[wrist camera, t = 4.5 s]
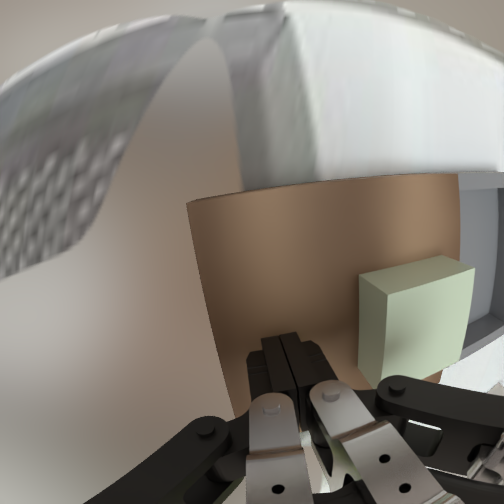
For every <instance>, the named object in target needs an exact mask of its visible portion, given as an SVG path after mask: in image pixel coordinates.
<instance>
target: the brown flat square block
mask: <svg viewBox="0 0 504 504" xmlns="http://www.w3.org/2000/svg"><path fill="white" fill-rule="evenodd" d="M186 205H187V211H188V217H189V222H190V228H191V233H192V238H193V244H194V249H195V254H196V259H197V264H198V269H199V274H200V279H201V283H202V288H203V292H204V297H205V301H206V306H207V310H208V315H209V319H210V323H211V328H212V332H213V336H214V340H215V344H216V348H217V352H218V356H219V360H220V363H221V368H222V371H223V375H224V379H225V382H226V386H227V390H228V393H229V397H230V400H231V404H232V408H233V411H234V415H235V418H238V417H240V416H242V415H243V414H244V413H245V412H246V411H247V410H248V409H249V407H250V404H251V395H250V388H249V380H248V372H247V364H246V358H247V357H248V355H249V353H250V352H252V351H258V350H262V345H261V338H265V337H270V336H276V335H278V337H279V335H280V334H286V333H291V332H297V334H298V336H299V338H300V340H301V342H304V341H309V340H311V341H313V342H314V343H316V344H318V345H319V346H320V348H321V350H322V352H323V354H324V355H325V357H326V359H327V360H328V362H329V364H330V365H331V367H332V369H333V371H334V372H335V374H336V376H337V378H338V379H339V381H343V382H345V383H347V384H348V385H349V386H350V387H351V388H352V389H354V390H370V389H373V388H372V387H371V385H370V384H369V383H368V381H367V380H366V378H365V377H364V376H363V374H362V373H361V371H360V370H359V368H358V348H359V274H364V273H368V272H373V271H377V270H382V269H386V268H390V267H395V266H399V265H403V264H407V263H411V262H415V261H420V260H424V259H428V258H432V257H435V256H439V255H443V256H446V257H449V258H451V259H454V260H457V261H459V262H460V195H459V181H458V173H421V174H399V175H384V176H371V177H359V178H348V179H337V180H328V181H318V182H310V183H301V184H293V185H285V186H278V187H271V188H264V189H257V190H250V191H243V192H237V193H231V194H225V195H219V196H213V197H207V198H202V199H196V200H194V201H191V202H188V203H186ZM442 371H443V370H440V371H438V372H436V373H434V374H432V375H430V376H428V377H426V378H424V379H421V380H424V381H428V382H433V383H439V382H440V378H441V375H442ZM299 427H300V425H299ZM300 432H302V431H301V428H300Z"/></svg>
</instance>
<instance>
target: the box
mask: <svg viewBox="0 0 504 504" xmlns="http://www.w3.org/2000/svg"><path fill="white" fill-rule="evenodd" d="M442 173H458V181H459V195H460V262H462V263H464V264H467V265H469V266H472V267H474V268H475V275H474V284H473V292H472V300H471V306H470V312H469V318H468V324H467V329H466V334H465V338H464V343H463V347H462V351H461V355H460V359H459V361H460V360H462V359H464V358H465V357H467V356H469V355H471V354H473V353H474V352H476V351H478V350H479V349H481V348H483V347H484V346H486V345H488V344H489V343H491V342H492V341H494V340H496V339H497V338H499V337H500V336H502V335H503V334H504V172H442ZM417 174H421V173H417ZM448 367H449V366H448ZM446 368H447V367H446Z"/></svg>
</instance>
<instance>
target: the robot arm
mask: <svg viewBox="0 0 504 504" xmlns="http://www.w3.org/2000/svg"><path fill="white" fill-rule="evenodd" d="M261 345H262V350H258V351H252V352H250V353H249V355H248V357H247V358H246V364H247V372H248V380H249V388H250V395H251V404H250V407H249V409H248V410H247V411H246V412H245V413H244V414H243V415H242V416H240V417H238V418H236V419H234V420H231V421H228V422H226V421H224V420H223V419H221V418H219V417H215V416H204V417H200V418H197V419H195V420H193V421H192V422H190V423H189V424H188V425H187V426H186V427H184V428H183V429H182V430H181V431H180V432H179V433H177V434H176V435H175V436H174V437H173V438H171V439H170V440H169V441H168V442H167V443H165V444H164V445H163V446H162V447H161V448H159V449H158V450H157V451H156V452H154V453H153V454H152V455H150V456H149V457H148V458H147V459H145V460H144V461H143V462H141V463H140V464H139V465H138V466H136V467H135V468H134V469H132V470H131V471H130V472H128V473H127V474H126V475H124V476H123V477H121V478H120V479H119V480H117V481H116V482H115V483H113V484H112V485H110V486H109V487H107V488H106V489H105V490H103V491H102V492H100V493H99V494H97V495H96V496H94V497H93V498H91V499H90V500H88V501H87V502H85V503H84V504H222V503H223V501H225V500H226V498H227V497H228V496H229V495H230V494H231V493H232V492H233V491H234V489H236V487H237V486H238V485H239V484H240V483H241V482H242V480H243V478H244V476H246V504H504V396H500V395H494V394H488V393H482V392H477V391H471V390H466V389H461V388H456V387H451V386H446V385H442V384H437V383H433V382H428V381H424V380H420V379H416V378H412V377H408V376H403V375H392V376H388V377H386V378H384V379H383V380H381V381H380V382H379V384H378V386H377V389H370V390H354V389H352V388H351V387H350V386H349V385H348V384H347V383H345V382H343V381H339V379H338V378H337V376H336V374H335V372H334V371H333V369H332V367H331V365H330V364H329V362H328V360H327V359H326V357H325V355H324V354H323V352H322V350H321V348H320V346H319V345H318V344H316V343H314V342H313V341H311V340H309V341H304V342H301V340H300V338H299V336H298V334H297V332H291V333H286V334H280V335H279V337H278V335H276V336H270V337H265V338H261ZM409 420H413V421H417V422H420V423H424V424H428V425H431V426H435V427H439V428H440V429H442V430H436V429H432V428H428V427H424V426H420V425H417V424H413V423H410V422H408V421H409ZM299 425H300V427H299ZM300 428H301V431H302V432H303V431H307V430H309V432H310V435H311V446H312V448H313V450H314V453H315V455H316V457H317V459H318V461H319V464H320V466H321V468H322V470H323V472H324V474H325V477H326V479H327V481H328V484H329V487H330V493H316V494H312V491H311V485H310V480H309V475H308V470H307V464H306V459H305V454H304V450H303V447H302V446H301V441H300V436H299V432H300ZM425 466H427V467H431V468H435V469H439V470H443V471H447V472H451V473H456V474H460V475H465V476H467V477H468V478H464V477H460V476H456V475H452V474H448V473H445V472H441V471H438V470H434V469H429V468H426V467H425Z"/></svg>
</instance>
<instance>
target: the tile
mask: <svg viewBox="0 0 504 504" xmlns="http://www.w3.org/2000/svg"><path fill="white" fill-rule="evenodd" d="M474 275H475V268H474V267H472V266H469V265H467V264H464V263H462V262H459V261H457V260H454V259H451V258H449V257H446V256H443V255H439V256H435V257H432V258H428V259H424V260H420V261H415V262H411V263H407V264H403V265H399V266H395V267H390V268H386V269H382V270H377V271H373V272H368V273H364V274H359V348H358V368H359V370H360V371H361V373H362V374H363V376H364V377H365V378H366V380H367V381H368V383H369V384H370V385H371V387H372V388H373V389H377V386H378V384H379V382H380V381H381V380H383V379H384V378H386V377H388V376H392V375H403V376H408V377H412V378H416V379H420V380H421V379H424V378H426V377H428V376H430V375H432V374H434V373H436V372H438V371H440V370H443V369H445V368H446V367H448V366H450V365H452V364H454V363H456V362H458V361H459V359H460V355H461V351H462V347H463V343H464V338H465V334H466V329H467V324H468V318H469V312H470V306H471V300H472V292H473V284H474Z"/></svg>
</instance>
